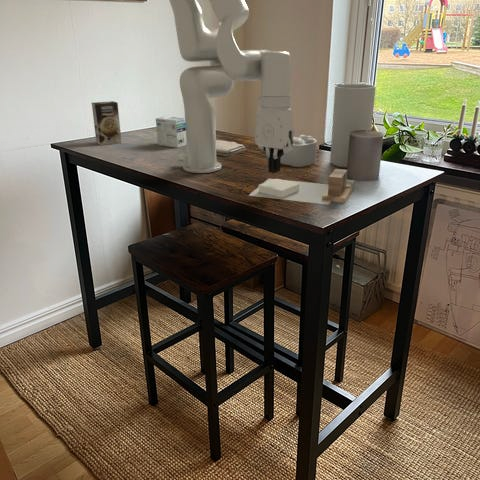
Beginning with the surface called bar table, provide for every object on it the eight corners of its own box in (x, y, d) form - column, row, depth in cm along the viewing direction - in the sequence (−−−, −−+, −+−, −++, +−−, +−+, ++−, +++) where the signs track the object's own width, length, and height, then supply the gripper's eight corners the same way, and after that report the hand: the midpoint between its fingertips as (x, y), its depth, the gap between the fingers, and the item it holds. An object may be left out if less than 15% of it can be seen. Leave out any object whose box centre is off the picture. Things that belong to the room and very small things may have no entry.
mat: (248, 197, 129) (248, 195, 129) (268, 180, 143) (268, 178, 143) (328, 206, 121) (328, 204, 121) (341, 187, 136) (341, 185, 135)
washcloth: (228, 158, 171) (228, 149, 170) (191, 151, 181) (191, 143, 180) (247, 151, 180) (247, 143, 179) (211, 145, 190) (211, 138, 189)
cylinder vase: (344, 170, 152) (350, 89, 142) (322, 161, 163) (327, 85, 153) (375, 166, 157) (384, 86, 147) (353, 157, 167) (359, 83, 157)
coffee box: (100, 145, 190) (94, 104, 184) (96, 142, 196) (90, 102, 189) (122, 142, 195) (117, 102, 188) (117, 140, 200) (113, 100, 193)
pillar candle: (343, 174, 149) (347, 125, 142) (375, 173, 148) (380, 125, 142) (349, 183, 140) (353, 132, 134) (382, 183, 139) (388, 132, 133)
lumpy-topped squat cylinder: (276, 162, 163) (276, 137, 159) (298, 155, 171) (299, 131, 168) (301, 168, 156) (302, 141, 153) (323, 160, 165) (324, 135, 161)
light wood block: (344, 197, 123) (346, 178, 121) (323, 194, 125) (324, 176, 123) (354, 182, 134) (355, 164, 132) (334, 180, 136) (335, 163, 134)
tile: (258, 184, 130) (281, 190, 125) (276, 178, 136) (299, 183, 131) (258, 192, 131) (281, 198, 126) (276, 185, 136) (299, 191, 131)
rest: (321, 202, 125) (322, 195, 124) (331, 189, 135) (331, 182, 134) (344, 204, 123) (345, 198, 122) (352, 191, 133) (353, 185, 132)
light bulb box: (188, 144, 190) (187, 117, 186) (178, 148, 185) (176, 120, 180) (168, 142, 195) (166, 115, 191) (157, 145, 190) (154, 117, 186)
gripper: (244, 101, 125) (244, 170, 132) (289, 106, 116) (287, 179, 123) (262, 98, 130) (262, 164, 137) (307, 103, 121) (304, 173, 128)
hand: (274, 171), depth 130 cm, fingers closed
